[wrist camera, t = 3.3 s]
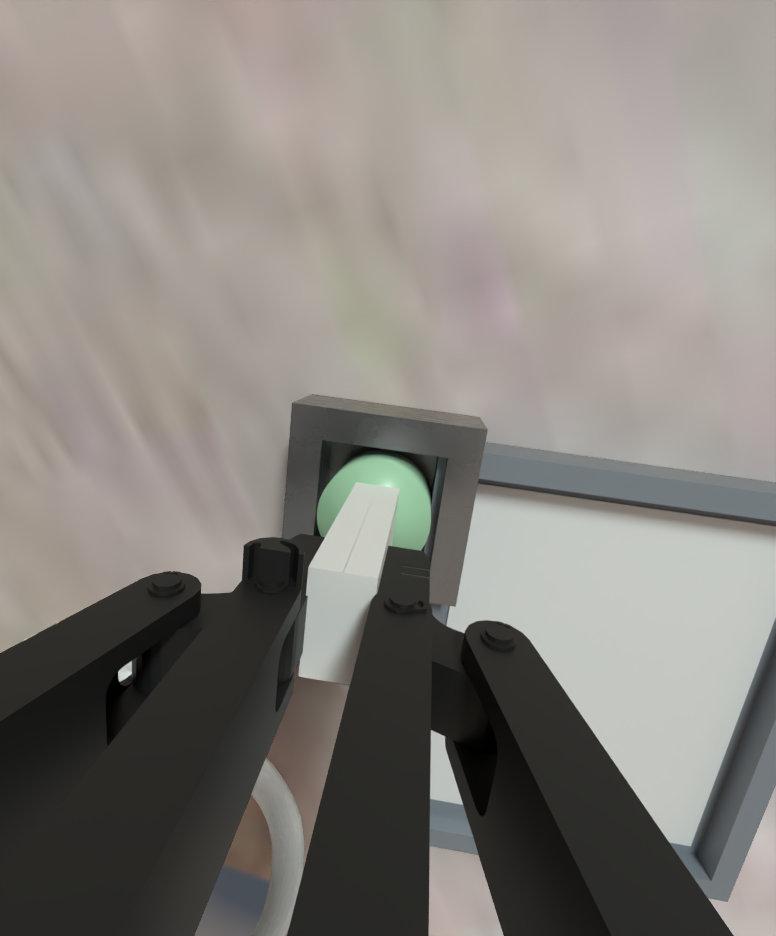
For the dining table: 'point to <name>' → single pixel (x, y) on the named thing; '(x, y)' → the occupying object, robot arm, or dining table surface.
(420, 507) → the button
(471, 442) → the grey square frame
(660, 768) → the tray
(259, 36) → the dining table surface
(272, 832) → the mug
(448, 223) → the dining table surface
